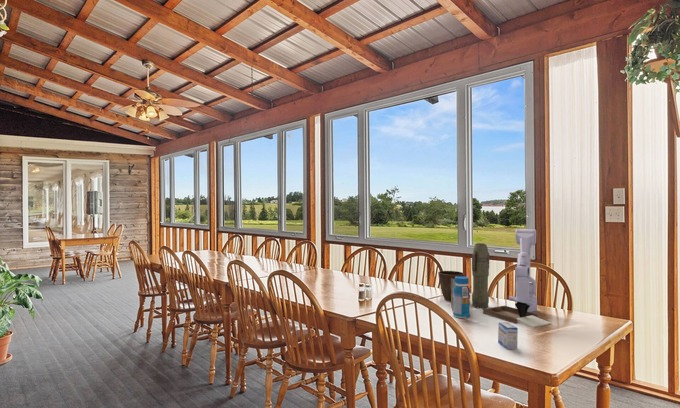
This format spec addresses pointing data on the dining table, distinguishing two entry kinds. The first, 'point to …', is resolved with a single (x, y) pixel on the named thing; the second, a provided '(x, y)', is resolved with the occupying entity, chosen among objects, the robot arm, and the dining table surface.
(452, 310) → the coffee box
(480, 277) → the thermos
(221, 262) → the dining table surface
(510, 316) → the case
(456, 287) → the beverage bottle
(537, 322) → the cover plate
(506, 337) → the medicine box
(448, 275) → the plant pot
